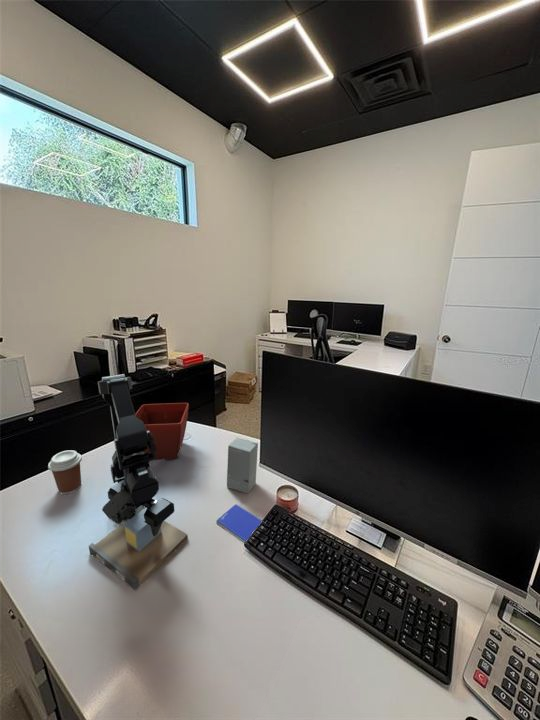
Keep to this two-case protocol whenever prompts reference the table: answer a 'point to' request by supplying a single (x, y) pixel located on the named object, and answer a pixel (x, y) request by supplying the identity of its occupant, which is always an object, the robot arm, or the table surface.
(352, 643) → the table surface
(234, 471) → the skincare box
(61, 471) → the coffee cup
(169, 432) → the plant pot
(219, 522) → the hard drive
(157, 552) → the shelf board
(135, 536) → the box
